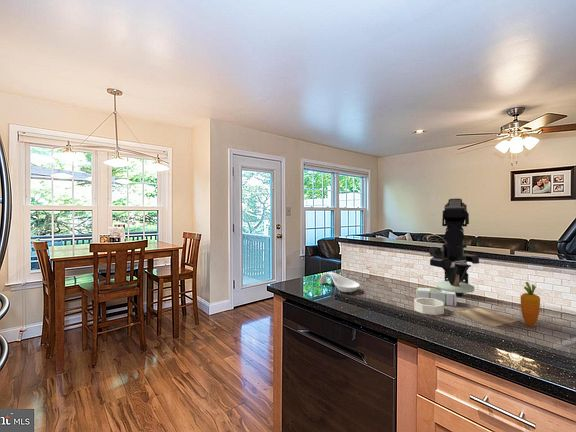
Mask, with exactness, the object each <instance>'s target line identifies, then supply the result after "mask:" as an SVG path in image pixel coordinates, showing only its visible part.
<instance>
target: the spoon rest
mask: <svg viewBox="0 0 576 432" xmlns="http://www.w3.org/2000/svg"><path fill="white" fill-rule="evenodd" d="M328 276H330V277H331V279H332V281H333V284H334V286H335V287H336V289H338V291H340V292H342V293H347V292H348V293H353V292H356V291H357V290H359V288H360V286H361V285H360V283H359V282H357V281H355V280H352V279H350V278H347V277H345V276H342V275H340V274H339V273H336V272H332V271H329V272H325V273H323V274H322V275H321V277H320V279H319V285H324V284H327V277H328ZM348 293H347V294H348Z"/></svg>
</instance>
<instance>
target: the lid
mask: <svg viewBox="0 0 576 432" xmlns="http://www.w3.org/2000/svg"><path fill="white" fill-rule="evenodd" d="M436 289H441V290H445V291H449V292H456V293H464V294H467V293H468V294H469V293H474V291H475V286H474V285H473V284H469V283H468V284H466V283H462V282H460V283H459V274H456V277H455V281H454V284H453V285H451V284H450V283H449V281H445V280H444V281H443V280H442V281H438V282H436Z"/></svg>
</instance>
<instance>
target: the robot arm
mask: <svg viewBox="0 0 576 432" xmlns="http://www.w3.org/2000/svg"><path fill="white" fill-rule="evenodd" d="M467 209H468V208H467V204H466V203H464V202H463V199H462V198H449V199H448V202H447V203H446V204H445V205H444V210H442V217H441V218H442V223H441V226H442V227H446V228H445V233H444V240H445V243H443V244H442V247H441V248H437V246H432V247H430V248H429V255H430V257H431V258H430V259H429V265H430V266H433V267H437V268H441V269H443V270H444V281H449V283H450V284H451V285H453V284H454V281H455V277H456V274H459V283H460V282H462V283H466V284H469V273H468V270H469V268H471V267H472V265H476V264H480V258H479V256H478V255H476V254H468V253H465V252H464V251H465V250H464V249H465V248H467V244H464V243H465V242H464V239H465V234H464V228H463V227H468V225H469V224H470V217H469V216H470V215H469V214H470V213H468V210H467ZM468 263H472V265H471V264H468ZM455 294H456V297H463V296H464V295H465V293H456V292H455Z"/></svg>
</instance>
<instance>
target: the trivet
mask: <svg viewBox="0 0 576 432" xmlns="http://www.w3.org/2000/svg"><path fill="white" fill-rule="evenodd" d="M454 314H457V315H459V316H462V317H464V318H466V319H467V318H468V319H470V320H472V321H475V322H477V323H480V324H483V325H485V326H489V327H491V328H495V327H499V326H503V325H507V324H512V323H516V322H520V321H521V319H518V318H515V317H512V316H509V315H505V314H502V313H499V312H496V311H493V310H491V309H487V308H484V307H481V306H480V307H475V308H470V309H467V310H460V311H455V312H454Z"/></svg>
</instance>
